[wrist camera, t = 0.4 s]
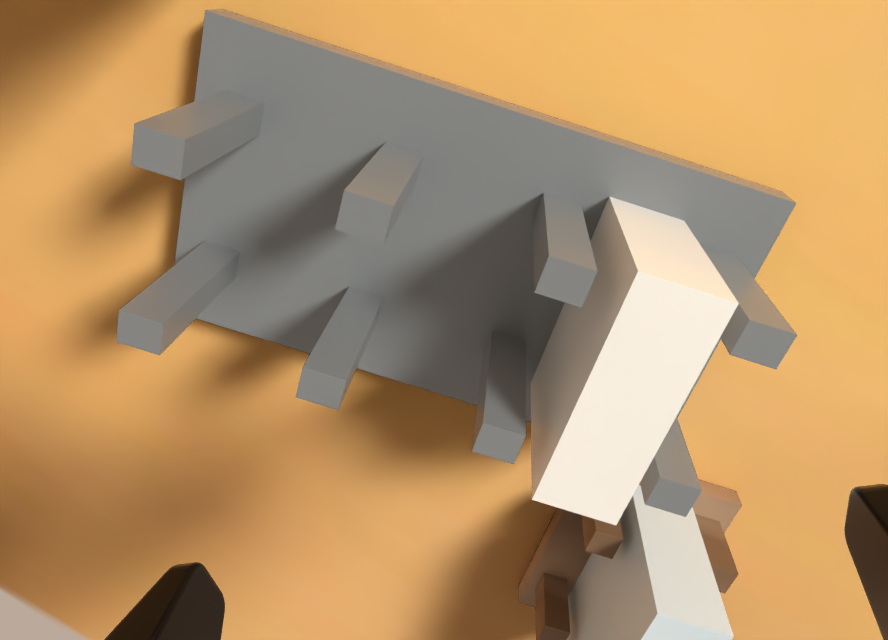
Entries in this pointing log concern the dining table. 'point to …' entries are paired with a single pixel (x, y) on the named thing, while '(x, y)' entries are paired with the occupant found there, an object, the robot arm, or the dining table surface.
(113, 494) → the dining table surface
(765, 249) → the rack
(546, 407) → the white rectangular block
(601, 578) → the white long rectangular block
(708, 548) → the stand
